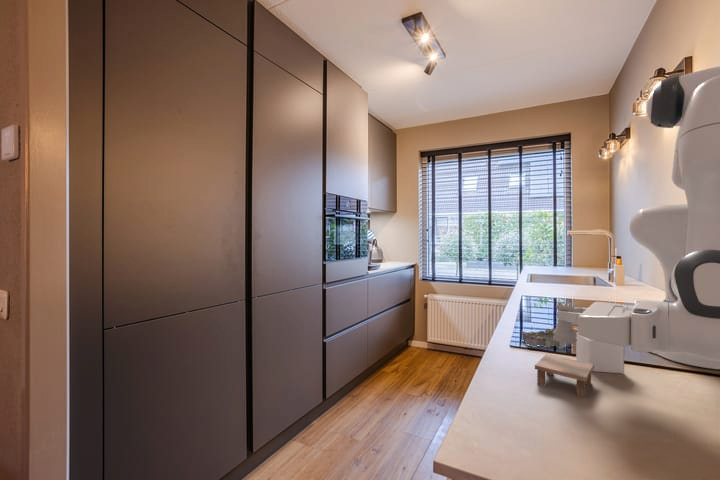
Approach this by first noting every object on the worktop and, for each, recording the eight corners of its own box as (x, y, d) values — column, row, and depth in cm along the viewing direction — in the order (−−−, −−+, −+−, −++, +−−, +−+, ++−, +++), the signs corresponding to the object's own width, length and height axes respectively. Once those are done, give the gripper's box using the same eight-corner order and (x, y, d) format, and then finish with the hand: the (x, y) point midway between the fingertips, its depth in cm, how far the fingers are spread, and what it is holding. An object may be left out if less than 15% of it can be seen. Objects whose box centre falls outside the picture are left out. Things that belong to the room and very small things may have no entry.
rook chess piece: (582, 343, 68) (582, 304, 68) (565, 345, 67) (565, 305, 67) (564, 337, 72) (564, 300, 72) (547, 338, 71) (547, 301, 71)
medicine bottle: (624, 374, 75) (625, 320, 75) (589, 371, 76) (589, 319, 76) (607, 362, 82) (608, 313, 82) (575, 360, 83) (575, 312, 83)
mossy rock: (558, 342, 98) (559, 328, 98) (568, 350, 91) (569, 335, 91) (519, 339, 101) (520, 326, 101) (526, 347, 93) (526, 333, 93)
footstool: (546, 371, 76) (546, 354, 76) (593, 383, 70) (593, 364, 70) (534, 384, 70) (534, 365, 70) (586, 398, 64) (586, 377, 64)
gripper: (648, 299, 69) (570, 292, 78) (644, 316, 53) (547, 305, 63) (648, 330, 69) (570, 319, 78) (643, 355, 53) (547, 338, 63)
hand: (560, 313), depth 70 cm, fingers closed on rook chess piece, 3 cm apart
